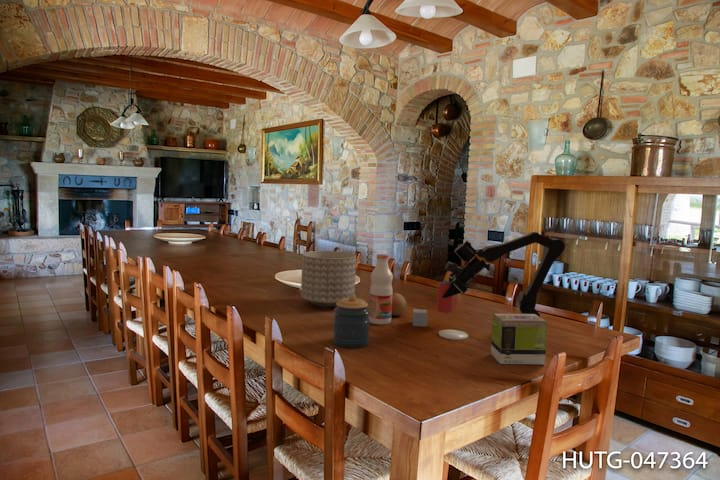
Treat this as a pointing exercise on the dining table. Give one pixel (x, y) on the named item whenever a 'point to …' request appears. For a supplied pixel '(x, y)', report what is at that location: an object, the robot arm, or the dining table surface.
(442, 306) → the beer can
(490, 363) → the dining table surface
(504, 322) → the tea box
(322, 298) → the planter
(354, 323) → the canister
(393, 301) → the onion
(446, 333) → the coaster
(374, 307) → the fruit juice
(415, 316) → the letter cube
